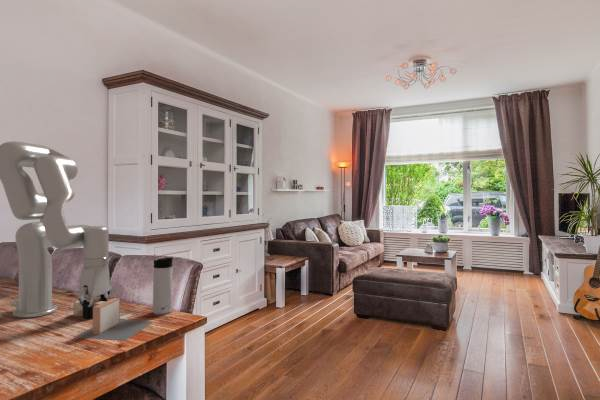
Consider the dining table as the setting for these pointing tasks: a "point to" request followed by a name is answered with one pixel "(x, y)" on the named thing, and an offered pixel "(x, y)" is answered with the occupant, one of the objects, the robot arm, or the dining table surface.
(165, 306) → the travel mug
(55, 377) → the dining table surface
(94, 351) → the dining table surface
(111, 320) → the tile
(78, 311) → the beige rectangular bar
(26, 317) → the robot arm
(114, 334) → the grey square plate
